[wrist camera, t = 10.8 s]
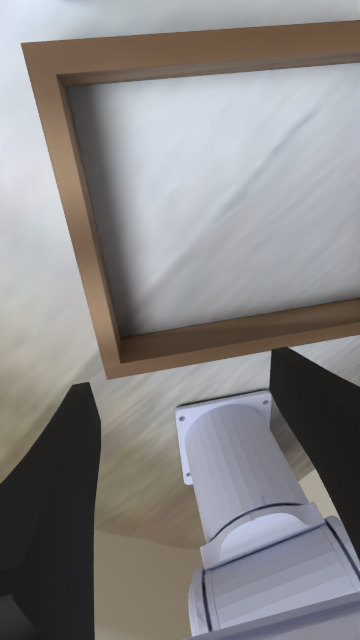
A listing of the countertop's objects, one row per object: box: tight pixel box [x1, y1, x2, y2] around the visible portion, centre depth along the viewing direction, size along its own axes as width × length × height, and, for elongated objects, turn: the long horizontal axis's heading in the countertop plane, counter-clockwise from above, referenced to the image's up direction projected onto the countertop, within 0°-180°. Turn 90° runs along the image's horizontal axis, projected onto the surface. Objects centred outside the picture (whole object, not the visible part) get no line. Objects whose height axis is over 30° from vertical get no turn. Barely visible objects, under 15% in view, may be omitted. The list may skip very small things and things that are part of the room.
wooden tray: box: [21, 20, 360, 380], centre depth 18 cm, size 16×20×3 cm
